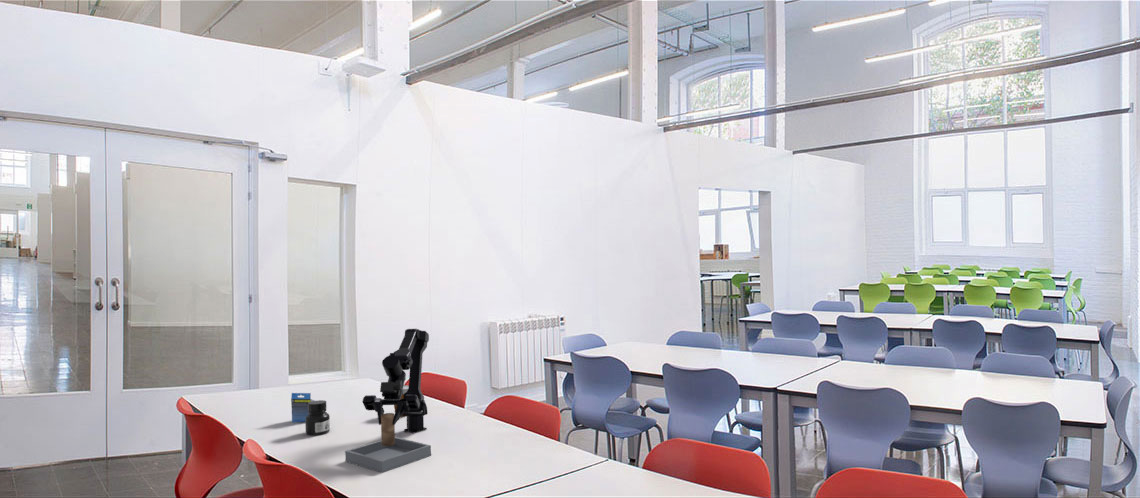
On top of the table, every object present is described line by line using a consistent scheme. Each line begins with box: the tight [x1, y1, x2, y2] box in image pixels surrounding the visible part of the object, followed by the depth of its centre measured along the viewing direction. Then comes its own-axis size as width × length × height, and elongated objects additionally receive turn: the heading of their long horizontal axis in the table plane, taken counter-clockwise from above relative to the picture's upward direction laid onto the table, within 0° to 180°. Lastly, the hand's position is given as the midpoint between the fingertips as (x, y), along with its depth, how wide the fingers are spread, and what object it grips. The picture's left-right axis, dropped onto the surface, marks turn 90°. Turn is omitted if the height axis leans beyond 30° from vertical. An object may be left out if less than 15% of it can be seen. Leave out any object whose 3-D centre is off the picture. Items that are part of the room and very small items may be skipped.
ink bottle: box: [304, 399, 331, 436], centre depth 253 cm, size 10×9×12 cm
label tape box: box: [290, 392, 316, 423], centre depth 272 cm, size 9×4×12 cm, turn 84°
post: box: [380, 412, 396, 446], centre depth 219 cm, size 4×4×10 cm
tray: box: [344, 436, 432, 473], centre depth 219 cm, size 20×20×4 cm
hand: (386, 424), depth 217 cm, fingers closed on post, 4 cm apart
